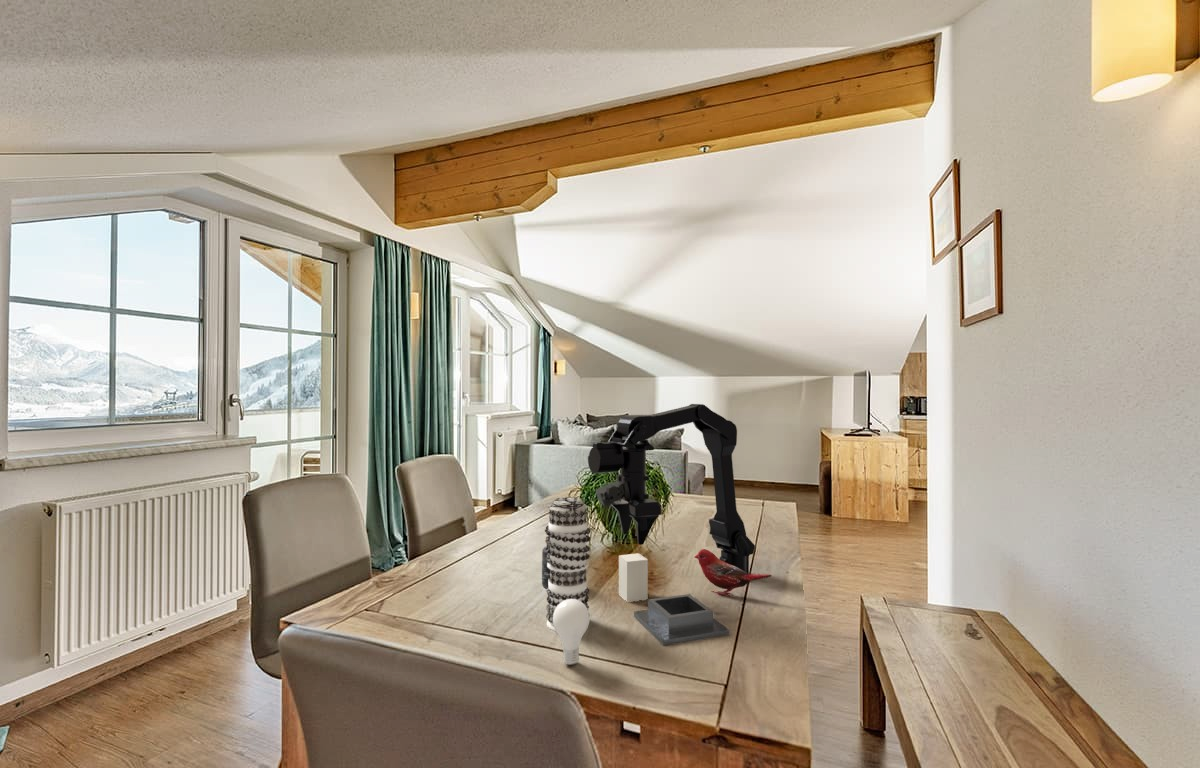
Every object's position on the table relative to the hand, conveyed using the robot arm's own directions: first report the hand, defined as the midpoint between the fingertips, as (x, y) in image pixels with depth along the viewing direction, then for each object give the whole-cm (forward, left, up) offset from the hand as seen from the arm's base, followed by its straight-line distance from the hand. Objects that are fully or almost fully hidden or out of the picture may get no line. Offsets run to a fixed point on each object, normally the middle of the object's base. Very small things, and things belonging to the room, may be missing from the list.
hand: (632, 539), depth 127 cm
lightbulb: (+22, +25, -13) cm, 36 cm away
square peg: (0, 0, -13) cm, 13 cm away
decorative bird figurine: (-21, +7, -13) cm, 26 cm away
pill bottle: (+15, -13, -13) cm, 24 cm away
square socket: (-3, +17, -13) cm, 22 cm away
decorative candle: (+18, +9, -13) cm, 24 cm away
